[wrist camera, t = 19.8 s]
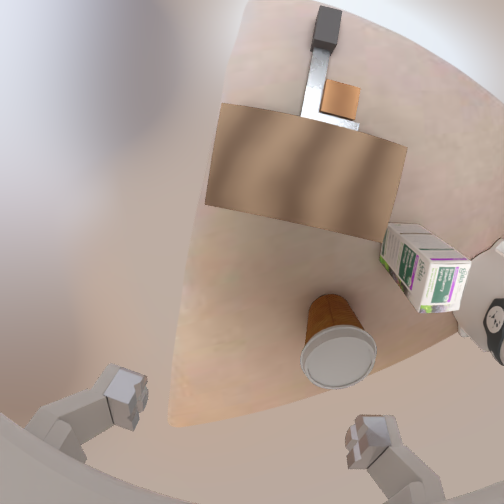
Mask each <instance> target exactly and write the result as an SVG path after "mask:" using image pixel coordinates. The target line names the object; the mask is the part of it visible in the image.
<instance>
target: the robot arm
mask: <svg viewBox="0 0 504 504" xmlns="http://www.w3.org/2000/svg"><path fill="white" fill-rule="evenodd" d="M471 262H472V263H471V267H470V271H469V276H468V280H467V284H466V287H465V290H464V293H463V296H462V299H461V303H460V308H459V310H455V311H453V314H454V317H455V318H456V320H457V322H458V333H459V335H460V336H461V337H470V338H471V339H472V340H473V342H474V343H475V344H476V345H477V346H478V347H479V348H480V349H481V350H482V351H483V352H486V351H490V352H491V353H492V355H493V357H494V358H495V360H496V361H498V362H499V363H500V364H501V365H503V366H504V239H503V238H501V239H499V240H498V241H497V242H496V243H495V244H494V245H493V246H492V247H491V248H490V249H489V250H487V251H485V252H483V253H481V254H479V255H478V256H477V257H475V258H474V259H473V260H472V261H471ZM147 382H148V381H147V376H145V375H142V374H140V373H137V372H134V371H131V370H128V369H126V368H124V367H120V366H118V365H115V364H113V363H110V364H109V365H107V367H106V368H105V370H104V371H103V372H102V374H101V375H100V377H99V378H98V380H97V381H96V382H95V384H94V386H93V387H92V388H91V390H89V389H85V390H83V391H80V392H78V393H75V394H73V395H70V396H68V397H65V398H63V399H60V400H57V401H55V402H52V403H50V404H47V405H44V406H42V407H40V408H39V409H38V411H37V412H36V413H35V415H34V416H33V417H32V419H31V420H30V421H29V423H28V424H27V425H26V427H25V428H22V427H21V426H19V425H18V424H16V423H15V422H13V421H12V420H11V419H9V418H8V417H6V416H5V415H4V414H3V413H1V412H0V504H197V503H193V502H189V501H185V500H181V499H177V498H173V497H170V496H167V495H163V494H160V493H157V492H154V491H151V490H148V489H145V488H142V487H139V486H136V485H133V484H131V483H128V482H126V481H123V480H120V479H118V478H116V477H113V476H111V475H108V474H106V473H104V472H101V471H99V470H97V469H95V468H93V467H91V466H88V465H86V464H85V461H86V460H87V457H86V455H85V453H84V451H83V449H82V447H81V445H82V444H84V443H85V442H87V441H89V440H90V439H92V438H94V437H96V436H97V435H99V434H100V433H102V432H104V431H105V430H107V429H109V428H110V427H112V426H113V424H114V425H117V426H120V427H122V428H125V429H128V430H131V431H134V430H135V427H136V425H137V423H138V421H139V413H140V412H142V411H144V408H145V406H146V403H147V400H148V389H147V387H146V384H147ZM345 447H346V448H347V449H348V450H349V453H348V455H347V464H348V469H367V471H368V473H369V474H370V475H371V477H372V478H373V479H374V481H375V482H376V484H377V485H378V486H379V488H380V489H381V490H382V492H383V493H384V494H385V495H386V497H387V498H388V501H386V502H385V503H383V504H504V481H500V482H497V483H495V484H493V485H490V486H487V487H485V488H482V489H479V490H476V491H474V492H470V493H467V494H465V495H461V496H458V497H455V498H452V499H448V500H445V496H444V492H443V488H442V484H441V481H440V477H439V476H438V475H437V474H436V473H435V472H434V471H433V470H432V469H430V468H429V467H428V466H427V465H426V464H425V463H424V462H423V461H422V460H421V459H420V458H419V457H418V456H417V455H415V454H414V453H413V452H412V451H411V450H410V449H409V448H408V447H407V446H403V443H402V440H401V436H400V432H399V429H398V426H397V422H396V419H395V417H394V416H393V415H359V416H357V417H356V419H355V424H354V425H352V426H350V427H349V429H348V431H347V433H346V437H345Z"/></svg>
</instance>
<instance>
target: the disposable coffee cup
mask: <svg viewBox="0 0 504 504" xmlns="http://www.w3.org/2000/svg"><path fill="white" fill-rule="evenodd" d="M376 354H377V347H376V343H375V341H374V339H373V338H372V336H371V335H370V334H368V333H367V332H366V331H365V330H364V328H363V327H362V325H361V323H360V322H359V320H358V319H357V317H356V315H355V314H354V312H353V311H352V309H351V307H350V306H349V304H348V302H347V301H346V300H345V299H344V298H343V297H341V296H338V295H334V294H328V295H324V296H321V297H319V298H318V299H316V300H315V301H314V302H313V303H312V305H311V307H310V309H309V315H308V324H307V333H306V340H305V347H304V349H303V350H302V353H301V357H300V365H301V368H302V370H303V372H304V374H305V375H306V376H307V378H308V379H309V380H310V381H311V382H312V383H313V384H315V385H316V386H318V387H321V388H325V389H342V388H347V387H349V386H352V385H355V384H357V383H358V382H360V381H362V380H363V379H364V378H365V377H366V376H367V375H368V374H369V373H370V372H371V370H372V368H373V366H374V363H375V358H376Z"/></svg>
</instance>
